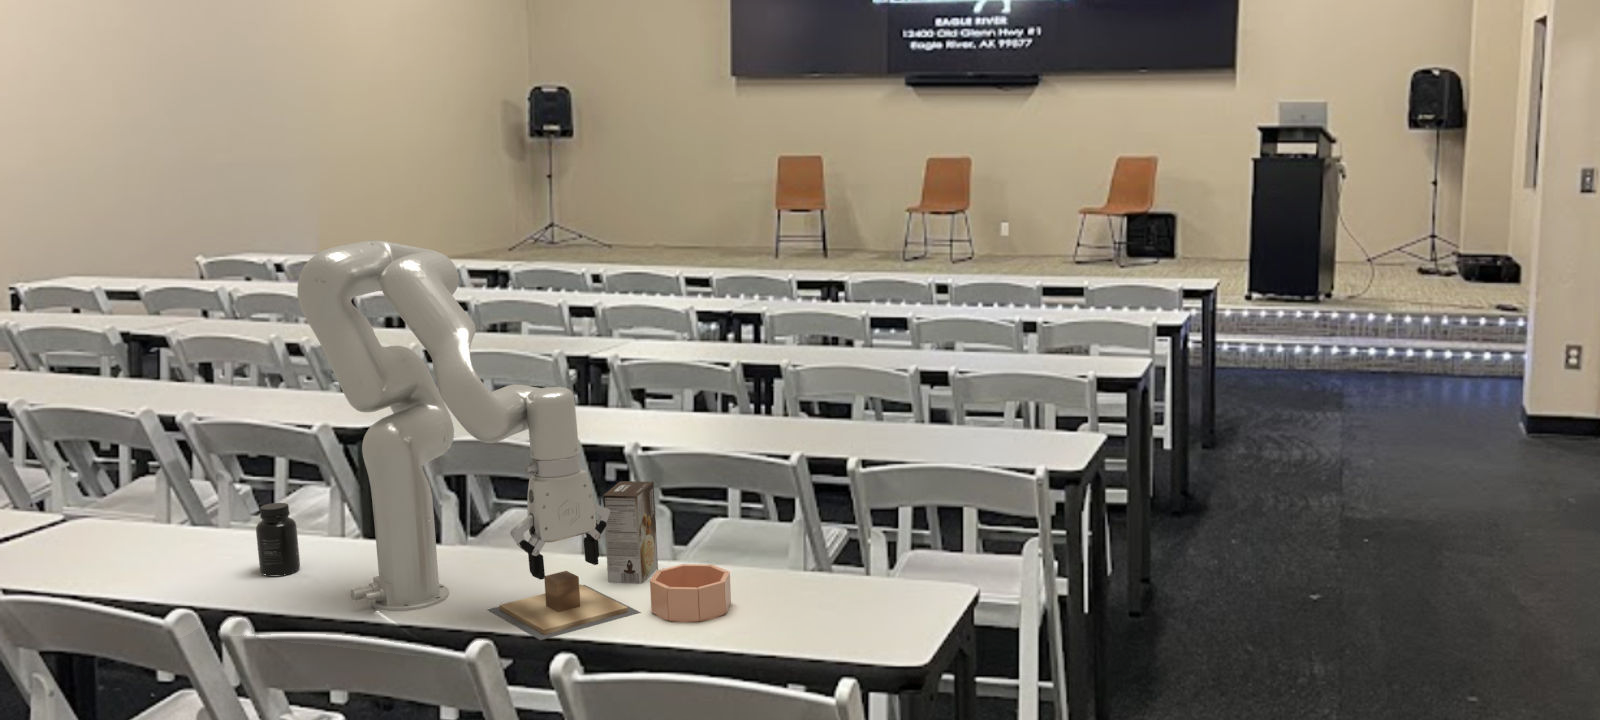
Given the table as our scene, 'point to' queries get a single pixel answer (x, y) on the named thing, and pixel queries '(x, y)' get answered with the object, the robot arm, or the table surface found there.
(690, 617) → the bowl
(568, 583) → the lid
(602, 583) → the table surface
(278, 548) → the supplement bottle
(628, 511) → the coffee box
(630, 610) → the mat
